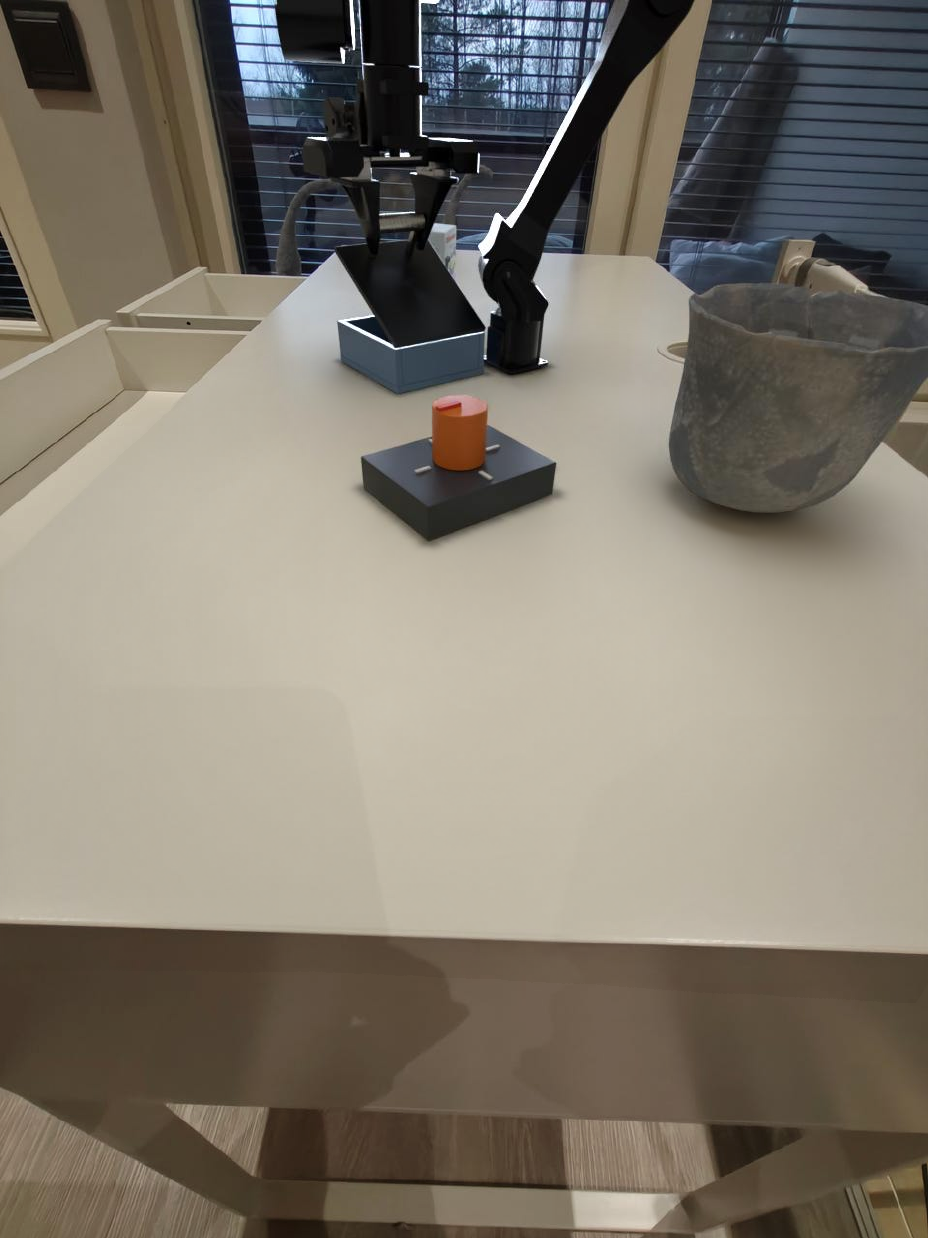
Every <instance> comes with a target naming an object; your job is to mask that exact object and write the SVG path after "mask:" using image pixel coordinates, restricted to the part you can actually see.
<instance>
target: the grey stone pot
mask: <svg viewBox="0 0 928 1238" xmlns="http://www.w3.org/2000/svg"><path fill="white" fill-rule="evenodd" d="M927 379H928V305H926V304H922V303H918V302H914V301H909V300H904V299H899V298H893V297H887V296H881V295H872V294H857V293H856V292H845V291H843V290H840V289H838V290H834V291H827V290H818V291H817V292H815V293H814V294H812V295H811V288H810V287H809V286H808V285H807V286H805V285H804V286H803V285H801V286H796V284H792V283H776V282H760V283H754V282H738V283H725V284H718V285H714V286H713V287H711V288H710V289H708V290H707V291H705V292H704V293H702V294H697V293H696V292H693V294H691V295H690V296H689V298H688V337H687V345H686V351H685V357H684V361H683V368H682V374H681V378H680V382H679V387H678V392H677V397H676V399H675V404H674V409H673V414H672V419H671V424H670V429H669V437H668V451H669V459H670V463H671V466H672V469H673V471H674V473H675V475H676V477H677V478H678V480H679V481H680V482H681V484H682V485H683V486H684V487H685V488H686V489H687V490H688V491H690V492H692V493H693V495H696V496H697V497H700V498H702V499H704V500H706V501H708V502H710V503H712V504H716V505H720V506H724V507H726V508H731V509H735V510H737V511H743V512H749V513H750V512H751V513H783V512H790V511H796V510H801V509H805V508H808V507H812V506H817V505H819V504H820V503H823V502H825V501H827V500H829V499H832V498H833V497H835V496H836V495H837V494H838V493H840V492H841V491H843V490H844V489H845V488H846V487H847V486H848V485H849V484H850V483H851V482H852V481H854V479H855V478H856V477H857V475H858V474H859V473H860V472H861V470H862V469H863V467H864V466H865V465H866V463H867V462H868V461H869V460H870V458H871V456H872V455H873V454H874V452H875V451H876V450H877V449H878V447H879V446H880V445H881V444H882V443H883V441H884V440H885V438H886V437H887V435H889V433H890V431H891V430H892V429H893V427H894V426H895V424H896V423H897V421H898V420H899V418H900V417H901V416H902V415H903V413H904V411H905V410H906V408H907V407H908V406H909V404H910V403H911V402H912V400H913V399H914V397H915V396H916V394H917V393H918V392H919V390H920V388H921V387H922V386H923V384H924V383H925V381H927Z"/></svg>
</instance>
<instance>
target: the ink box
mask: <svg viewBox="0 0 928 1238" xmlns="http://www.w3.org/2000/svg"><path fill="white" fill-rule="evenodd" d="M428 240H429V242H430V243H431V245H432V246H433V248H434V249H435V251H436V252H437V254H438V255H439V257H440V259H441V260H442V262H443V263H444V265H445V266H446V268H447V269H448V271H449V272H450V274H451V275H452V277H453V278H454V280H455V281H456V282H457V278H456V277H457V272H456V271H457V225H455V224H447V223H446V224H445V223H436V222H435V223H434V225H433V228H432V230H431V233H430V235H429V238H428Z"/></svg>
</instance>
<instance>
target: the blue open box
mask: <svg viewBox="0 0 928 1238" xmlns="http://www.w3.org/2000/svg"><path fill="white" fill-rule="evenodd" d="M336 324H337V333H338V334H337V335H338V343H339V350H340V351H339V353H340V361H341V362H342V363H344V364H345V365H347V366H349V367H350V368H352V369H354V370H356V371H357V372H359V373H361V374H363V375H365V377H368V378H370V379H371V380H373V381H375V382H376V383H378V384H380V385H381V386H383V387H385V388H387V389H388V390H389V391H391V392H393V393H395V394H397V395H398V394H402V393H407V392H412V391H415V390H420V389H424V388H425V389H426V388H429V387H433V386H437V385H441V384H445V383H451V382H454V381H459V380H463V379H467V378H472V377H476V376H480V375H483V374H484V364H485V362H484V356H485V340H486V339H485V338H486V333H485V331H484V332H478V333H473V334H468V335H463V336H457V337H452V338H447V339H442V340H437V341H431V342H426V343H421V344H416V345H410V346H405V347H400V348H394V347H393V345H392V344H391V342H390V340H389V339H388V337H387V335H386V334H385V332H384V331H383V329H382V327H381V326H380V324H379V323H378V321H377V319H376V318H375V316H374V314H372V315H365V316H359V317H354V318H346V319H340V320H337V321H336Z"/></svg>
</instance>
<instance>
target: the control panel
mask: <svg viewBox="0 0 928 1238" xmlns="http://www.w3.org/2000/svg"><path fill="white" fill-rule="evenodd" d="M360 463H361V474H362V484H363V490H365V491H366V492H367V493H369V494H370V496H372V497H373V498H374V499H376V500H377V501H378V502H380V503H381V504H382V506H385V507H386V508H387V509H388V510H389V511H390V512H392V513H393V514H394V515H396V516H397V517H398V518H399V519H400V520H401V521H403V522H404V523H405V524H407V526H409V527H410V528H412V529H413V530H414V531H415V532H416V533H418V534H419V535H420V536H421V537H422V538H424V539H425V540H426V541H427V542H431V541H433V540H435V539H438V538H441V537H443V536H447V535H449V534H452V533H454V532H457V531H460V530H461V529H465V528H468V527H470V526H472V525H475V524H478V523H480V522H483V521H485V520H488V519H491V518H493V517H496V516H498V515H499V516H500V515H501V514H504V513H506V512H509V511H511V510H514V509H517V508H519V507H522V506H524V505H527V504H530V503H532V502H535V501H538V500H540V499H543V498H546V497H549V496H551V495H553V492H554V484H555V476H556V470H557V462H556V461H555V460H553V459H551V458H549V457H547V456H546V455H544V454H542V453H540V452H538V451H537V450H535V449H532V448H531V447H530V446H527V445H525V444H524V443H522V442H520V441H518V440H517V439H515V438H513V437H511V436H509V435H507V434H505V433H504V432H502V431H500V430H499V429H496V428H495V427H492V426H491V425H489V424H487V435H486V454H485V461H484V463H483V464H482V465H481V466H479V467H477V468H475V469H471V470H464V471H456V470H449V469H445V468H442V467H440V466H438V465H437V464H435V463H434V461H433V459H432V436H428V437H425V438H422V439H418V440H415V441H411V442H408V443H404V444H401V445H397V446H394V447H393V446H392V447H390V448H386V449H383V450H380V451H376V452H372V453H368V454H365V455H361V456H360Z"/></svg>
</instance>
